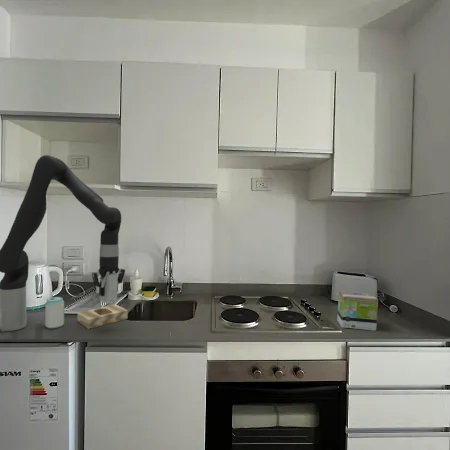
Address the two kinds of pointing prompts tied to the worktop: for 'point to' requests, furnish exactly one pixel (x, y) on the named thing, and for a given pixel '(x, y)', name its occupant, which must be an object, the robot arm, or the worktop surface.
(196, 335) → the worktop surface
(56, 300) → the can
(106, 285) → the skincare box
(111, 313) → the socket block
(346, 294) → the tea box
